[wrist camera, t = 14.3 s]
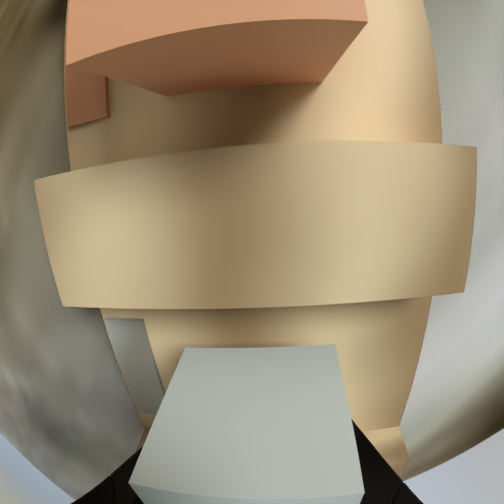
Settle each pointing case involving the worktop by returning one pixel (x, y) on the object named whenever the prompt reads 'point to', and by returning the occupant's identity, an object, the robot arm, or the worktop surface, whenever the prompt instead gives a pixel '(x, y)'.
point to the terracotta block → (211, 41)
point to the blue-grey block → (252, 431)
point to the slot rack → (269, 218)
